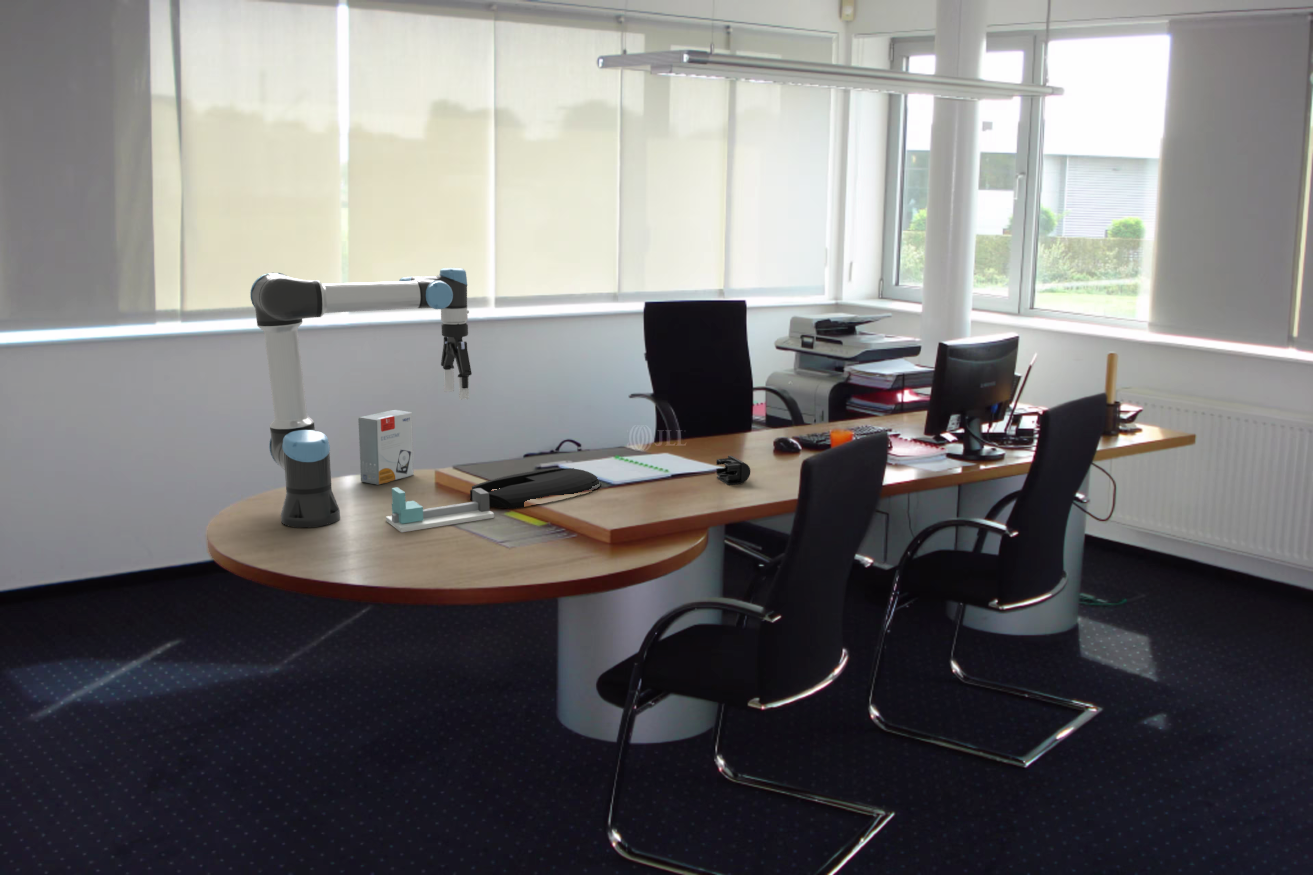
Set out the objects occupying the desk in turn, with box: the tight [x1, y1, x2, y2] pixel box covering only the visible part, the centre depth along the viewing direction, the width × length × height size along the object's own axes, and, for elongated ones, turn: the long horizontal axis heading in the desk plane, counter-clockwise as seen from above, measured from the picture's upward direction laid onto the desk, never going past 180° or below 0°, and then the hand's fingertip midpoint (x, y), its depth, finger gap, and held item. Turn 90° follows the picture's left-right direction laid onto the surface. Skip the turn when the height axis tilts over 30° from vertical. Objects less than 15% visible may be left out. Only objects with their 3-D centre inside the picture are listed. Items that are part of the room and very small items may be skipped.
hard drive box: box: [357, 409, 415, 486], centre depth 358 cm, size 16×8×20 cm, turn 148°
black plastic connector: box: [715, 455, 751, 486], centre depth 358 cm, size 10×7×7 cm
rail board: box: [385, 488, 495, 533], centre depth 318 cm, size 26×12×6 cm, turn 121°
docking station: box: [469, 467, 600, 510], centre depth 346 cm, size 25×41×5 cm, turn 130°
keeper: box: [391, 487, 424, 524], centre depth 312 cm, size 6×7×8 cm
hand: (456, 395), depth 345 cm, fingers open, 13 cm apart
